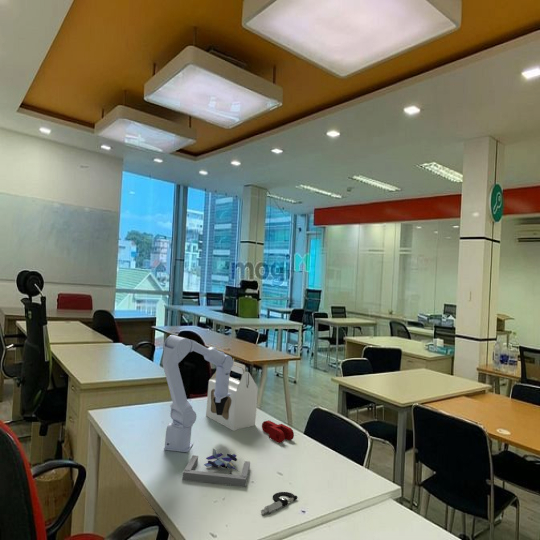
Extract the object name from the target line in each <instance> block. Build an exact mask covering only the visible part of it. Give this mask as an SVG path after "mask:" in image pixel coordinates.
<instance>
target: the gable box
mask: <svg viewBox="0 0 540 540" xmlns="http://www.w3.org/2000/svg"><path fill="white" fill-rule="evenodd" d="M233 362H234V363H233V366H232V368H231V371H232V372H234V373H237V374H240V375H241V377H240V380H239V379H236V378H234V377H231V376H229V387H228V393H231V395H230V396H226V397H228V399H227V401H226V403H225V406H224V410H223V413H222V415H217V413H216V406H215V403H214V400H213V399H214V397H215V396H214V392H215V382H216V371H215V372H214V373H213V374H212V376H211V377H210V378H209V380H208V385H207V396H206V397H207V400H206V408H205V409H206V411H205V416H206V417H208V418H209V419H211V420H213V421H215V422H216V423H217V424H221V425H222V426H223V427H226V428H228V429H229V430H231V431H237V430H240V429H245V428H249V427H253V426H255V425H256V416H257V407H258V394H259V387H258V385H257V384H256V382H255V380H254V379H253V377H252V375H251V373H250V372H249V371H247V365H245V364H243V363H241V362H237V361H234V360H233Z"/></svg>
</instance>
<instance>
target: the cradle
mask: <svg viewBox="0 0 540 540" xmlns="http://www.w3.org/2000/svg"><path fill="white" fill-rule="evenodd" d="M198 463H199V455H192V456H191V458H190V459H189V461H188V463H187V465H186V466H185V468H184V470H183V471H182V481H189V482H196V483H197V482H198V483H205V484H213V485H223V486H233V487H241V488H246V486H247V485H246V484H247V482H248V478H249V477H248V476H249V472H250V467H251V461H248V460H246V461H245V460H244V462H243V465H242V469H241V472H240V475H237V474H230V473H229V474H227V473H220V472H219V473H218V472H210V471H201V470H195V469H196V467H197V464H198Z"/></svg>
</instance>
